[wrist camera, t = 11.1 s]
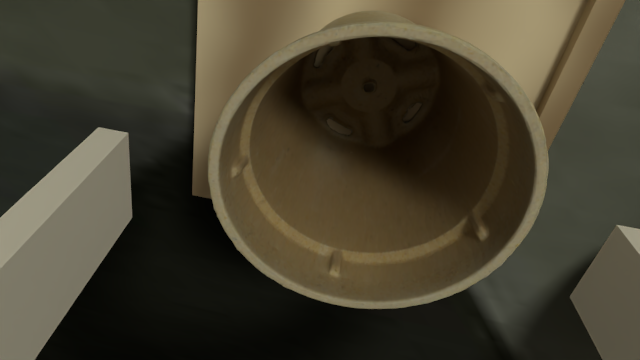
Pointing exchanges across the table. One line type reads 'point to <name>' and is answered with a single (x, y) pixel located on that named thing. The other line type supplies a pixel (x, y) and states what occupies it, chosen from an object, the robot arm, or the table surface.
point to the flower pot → (378, 164)
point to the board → (422, 9)
